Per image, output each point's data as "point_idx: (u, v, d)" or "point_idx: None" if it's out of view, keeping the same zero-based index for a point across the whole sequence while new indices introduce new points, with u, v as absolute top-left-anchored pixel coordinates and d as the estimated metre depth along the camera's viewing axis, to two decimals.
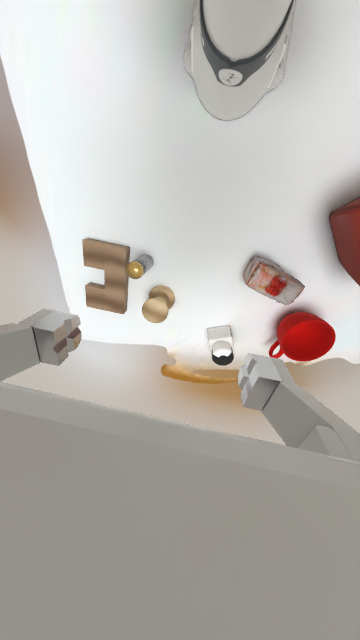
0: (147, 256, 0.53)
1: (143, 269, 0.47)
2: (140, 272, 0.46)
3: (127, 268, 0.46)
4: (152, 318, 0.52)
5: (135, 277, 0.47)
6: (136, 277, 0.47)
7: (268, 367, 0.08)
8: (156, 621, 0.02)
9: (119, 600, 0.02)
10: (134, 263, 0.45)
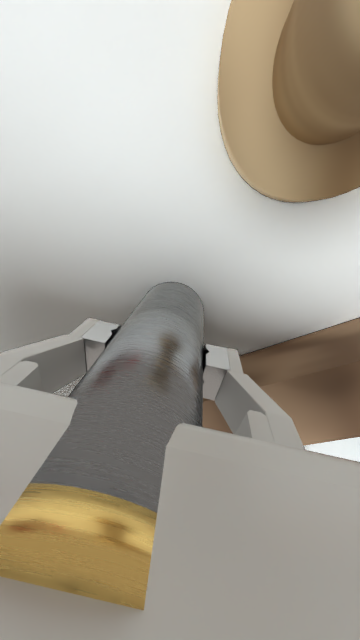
0: None
1: None
2: None
3: None
4: None
5: None
6: None
7: (220, 356, 0.08)
8: (156, 621, 0.02)
9: None
10: None
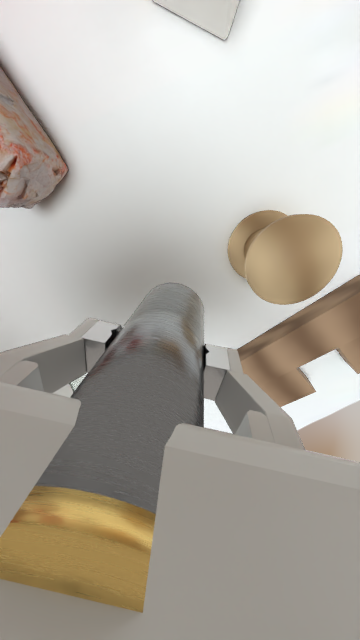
0: None
1: None
2: None
3: None
4: (322, 247, 0.15)
5: None
6: None
7: (220, 356, 0.08)
8: (156, 621, 0.02)
9: None
10: None
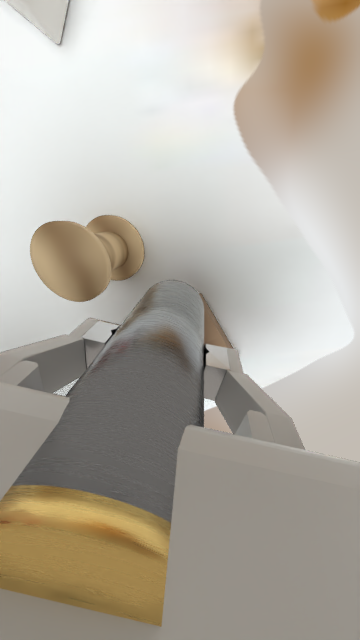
0: None
1: None
2: None
3: None
4: (88, 255, 0.17)
5: None
6: None
7: (220, 356, 0.08)
8: None
9: None
10: None
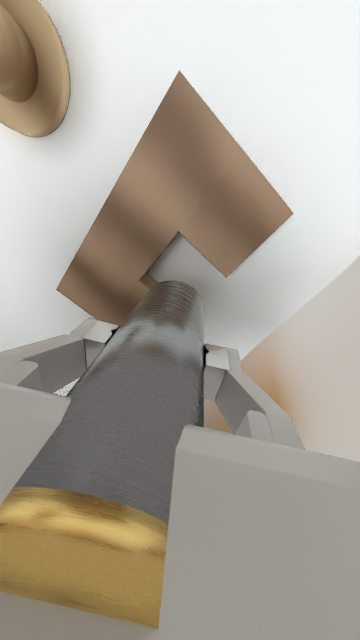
0: None
1: None
2: None
3: None
4: None
5: None
6: None
7: (220, 356, 0.08)
8: None
9: None
10: None
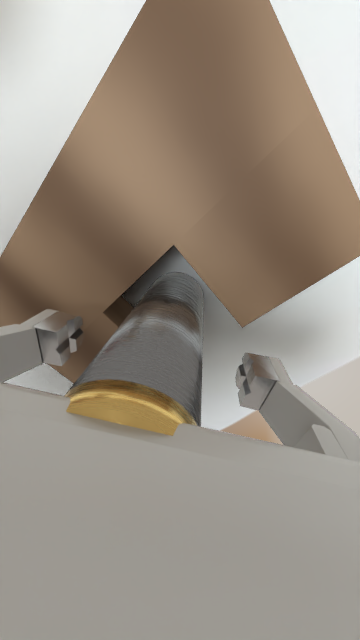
0: None
1: (73, 386, 0.05)
2: None
3: None
4: None
5: None
6: None
7: (265, 366, 0.08)
8: (156, 621, 0.02)
9: (119, 600, 0.02)
10: None
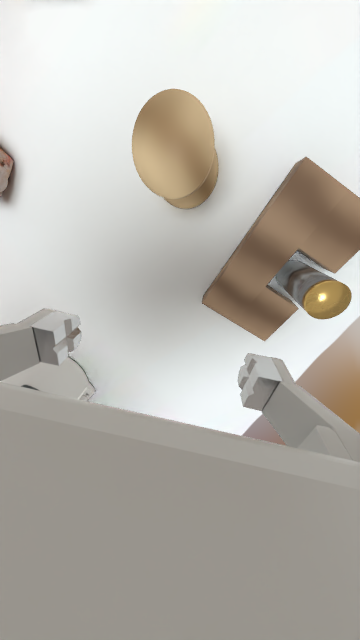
0: (279, 283, 0.28)
1: (307, 288, 0.20)
2: (320, 290, 0.19)
3: (335, 313, 0.20)
4: (189, 119, 0.15)
5: (341, 288, 0.18)
6: (340, 286, 0.18)
7: (268, 367, 0.08)
8: (156, 621, 0.02)
9: (119, 600, 0.02)
10: (311, 312, 0.20)
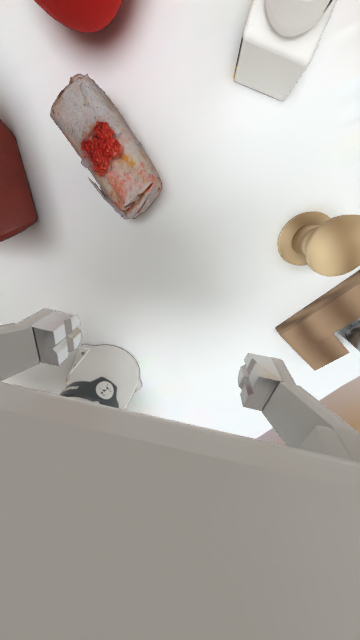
0: (341, 331, 0.37)
1: None
2: None
3: None
4: None
5: None
6: None
7: (268, 367, 0.08)
8: (156, 621, 0.02)
9: (119, 600, 0.02)
10: None
